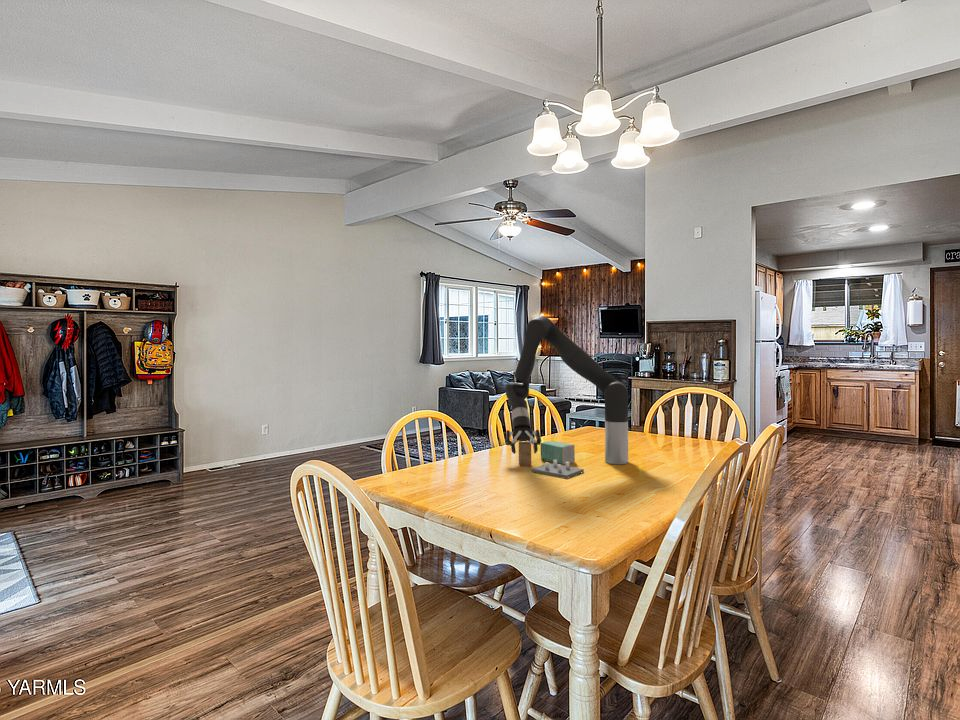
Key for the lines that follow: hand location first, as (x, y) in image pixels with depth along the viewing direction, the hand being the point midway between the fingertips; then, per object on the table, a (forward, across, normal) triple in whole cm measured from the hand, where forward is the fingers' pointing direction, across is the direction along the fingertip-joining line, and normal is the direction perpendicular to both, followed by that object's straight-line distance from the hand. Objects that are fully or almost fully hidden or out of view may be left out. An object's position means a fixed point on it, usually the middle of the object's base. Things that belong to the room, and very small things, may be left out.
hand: (525, 452), depth 220 cm
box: (-1, +15, +9) cm, 17 cm away
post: (+3, 0, +4) cm, 5 cm away
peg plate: (+13, +11, -5) cm, 17 cm away
